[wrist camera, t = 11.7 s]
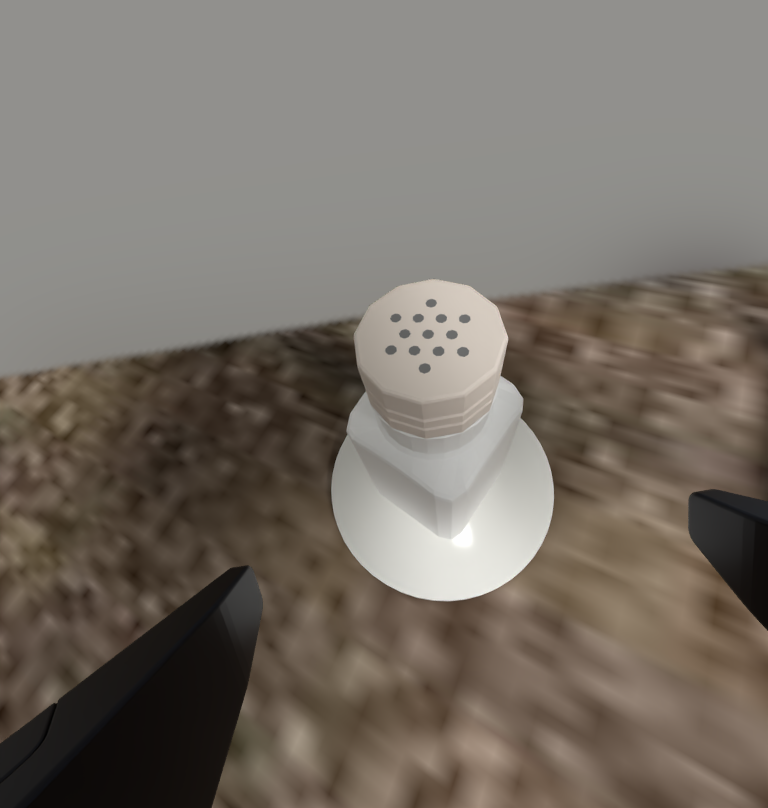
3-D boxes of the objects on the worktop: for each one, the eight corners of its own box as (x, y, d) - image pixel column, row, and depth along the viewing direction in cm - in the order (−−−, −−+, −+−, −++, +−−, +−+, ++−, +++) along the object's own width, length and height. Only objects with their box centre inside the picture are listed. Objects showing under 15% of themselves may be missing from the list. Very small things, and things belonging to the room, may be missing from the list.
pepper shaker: (506, 466, 16) (566, 307, 8) (452, 549, 15) (458, 462, 7) (425, 417, 18) (406, 243, 10) (370, 489, 17) (295, 359, 8)
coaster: (407, 654, 14) (405, 655, 14) (301, 457, 19) (296, 453, 18) (601, 514, 16) (606, 510, 15) (460, 360, 20) (460, 353, 19)
